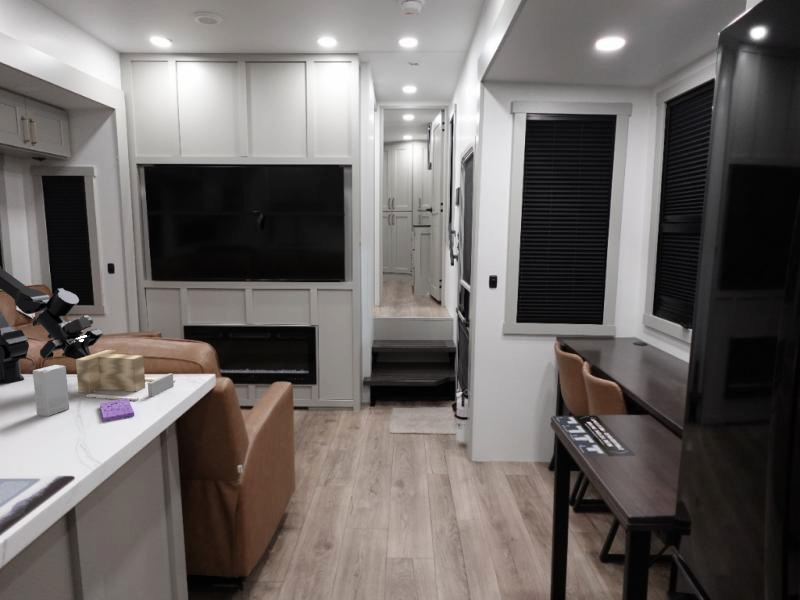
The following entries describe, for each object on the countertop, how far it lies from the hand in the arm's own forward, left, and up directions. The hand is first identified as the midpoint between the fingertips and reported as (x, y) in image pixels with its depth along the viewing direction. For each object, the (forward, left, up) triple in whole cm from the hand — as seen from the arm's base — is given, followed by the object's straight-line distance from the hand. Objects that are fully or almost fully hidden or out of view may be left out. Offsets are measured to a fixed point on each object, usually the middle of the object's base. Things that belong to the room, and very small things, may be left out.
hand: (91, 363), depth 149 cm
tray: (+12, +8, -7) cm, 16 cm away
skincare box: (+17, -13, -8) cm, 23 cm away
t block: (+7, +5, -7) cm, 11 cm away
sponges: (+28, -1, -8) cm, 29 cm away
